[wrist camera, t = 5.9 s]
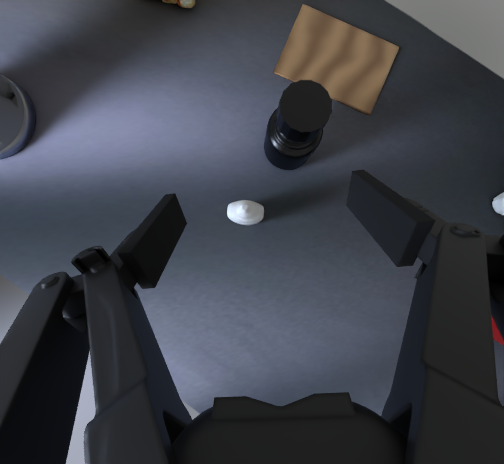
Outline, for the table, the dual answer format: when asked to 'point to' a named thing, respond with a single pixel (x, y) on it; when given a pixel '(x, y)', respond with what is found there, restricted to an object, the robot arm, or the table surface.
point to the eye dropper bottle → (245, 212)
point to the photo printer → (499, 204)
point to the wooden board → (337, 58)
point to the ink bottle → (297, 124)
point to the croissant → (182, 3)
